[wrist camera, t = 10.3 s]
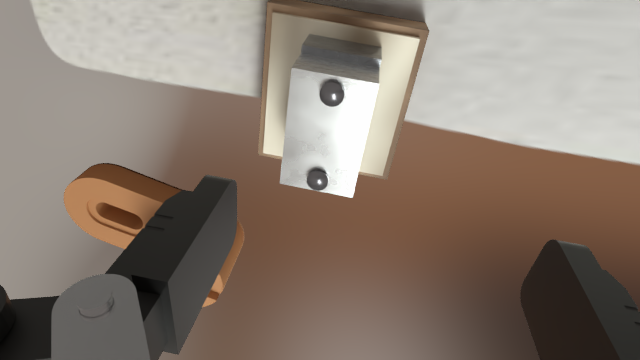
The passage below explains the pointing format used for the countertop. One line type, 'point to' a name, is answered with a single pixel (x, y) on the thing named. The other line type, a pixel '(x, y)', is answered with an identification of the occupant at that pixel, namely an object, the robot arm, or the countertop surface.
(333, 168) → the block
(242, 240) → the bracket
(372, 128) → the stand
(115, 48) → the countertop surface
